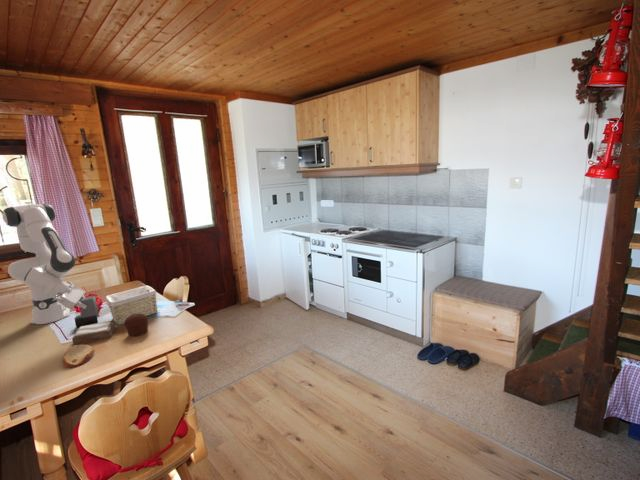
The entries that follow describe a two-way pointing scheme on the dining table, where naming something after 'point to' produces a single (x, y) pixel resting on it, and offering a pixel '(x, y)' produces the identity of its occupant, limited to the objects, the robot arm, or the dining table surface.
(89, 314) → the block
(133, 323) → the muffin
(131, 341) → the dining table surface
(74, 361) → the slice of bread
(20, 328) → the dining table surface
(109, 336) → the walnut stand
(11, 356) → the dining table surface
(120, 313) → the storage basket
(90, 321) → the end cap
